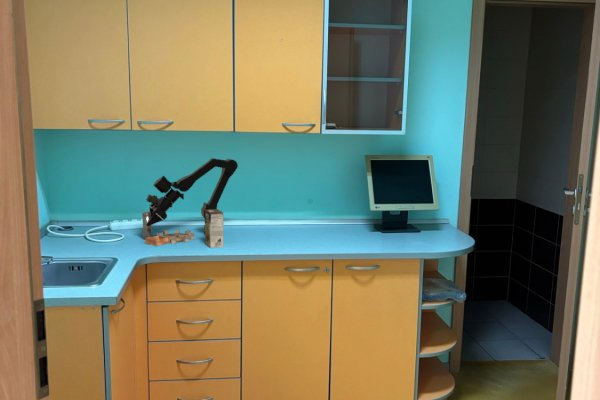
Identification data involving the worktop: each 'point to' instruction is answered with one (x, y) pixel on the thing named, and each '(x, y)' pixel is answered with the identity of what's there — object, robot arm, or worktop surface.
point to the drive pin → (146, 229)
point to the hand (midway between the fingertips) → (145, 223)
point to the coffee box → (214, 228)
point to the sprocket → (170, 237)
